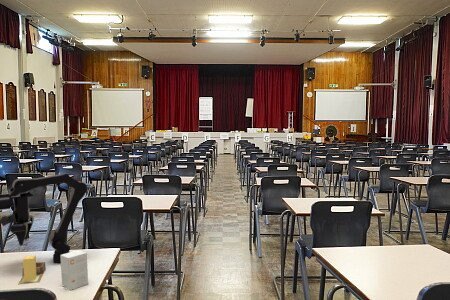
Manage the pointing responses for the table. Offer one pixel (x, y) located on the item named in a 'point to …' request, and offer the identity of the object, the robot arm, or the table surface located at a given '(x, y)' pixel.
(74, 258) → the small box
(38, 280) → the board
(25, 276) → the block
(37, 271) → the pocket
